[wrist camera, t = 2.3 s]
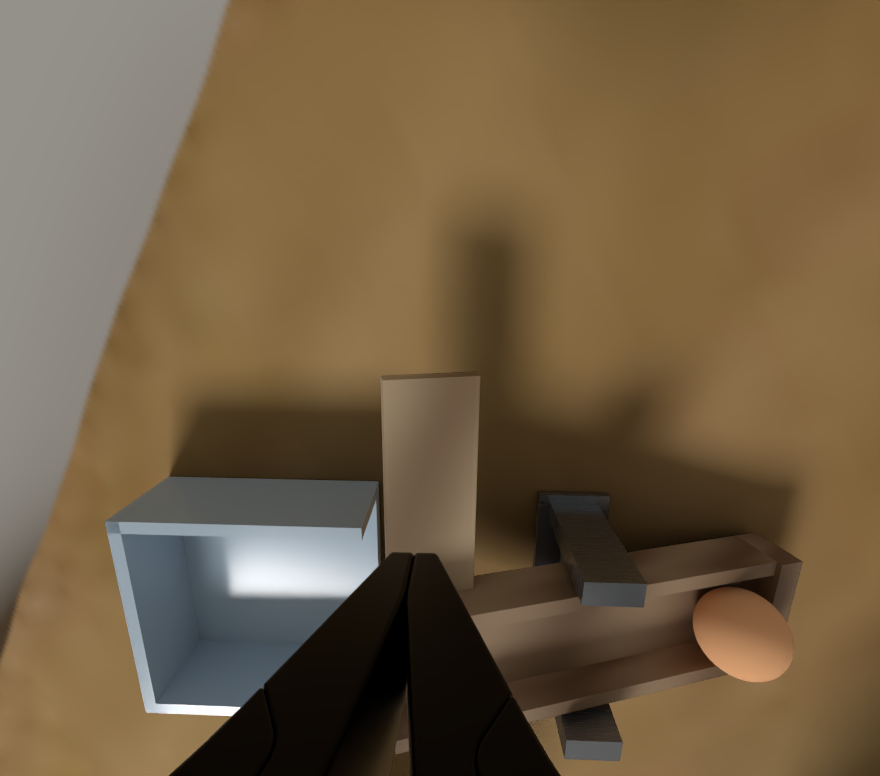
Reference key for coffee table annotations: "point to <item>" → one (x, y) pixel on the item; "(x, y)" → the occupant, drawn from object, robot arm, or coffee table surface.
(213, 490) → the dish
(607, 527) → the pivot stand
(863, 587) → the coffee table surface
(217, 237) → the coffee table surface
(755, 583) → the lever
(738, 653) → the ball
